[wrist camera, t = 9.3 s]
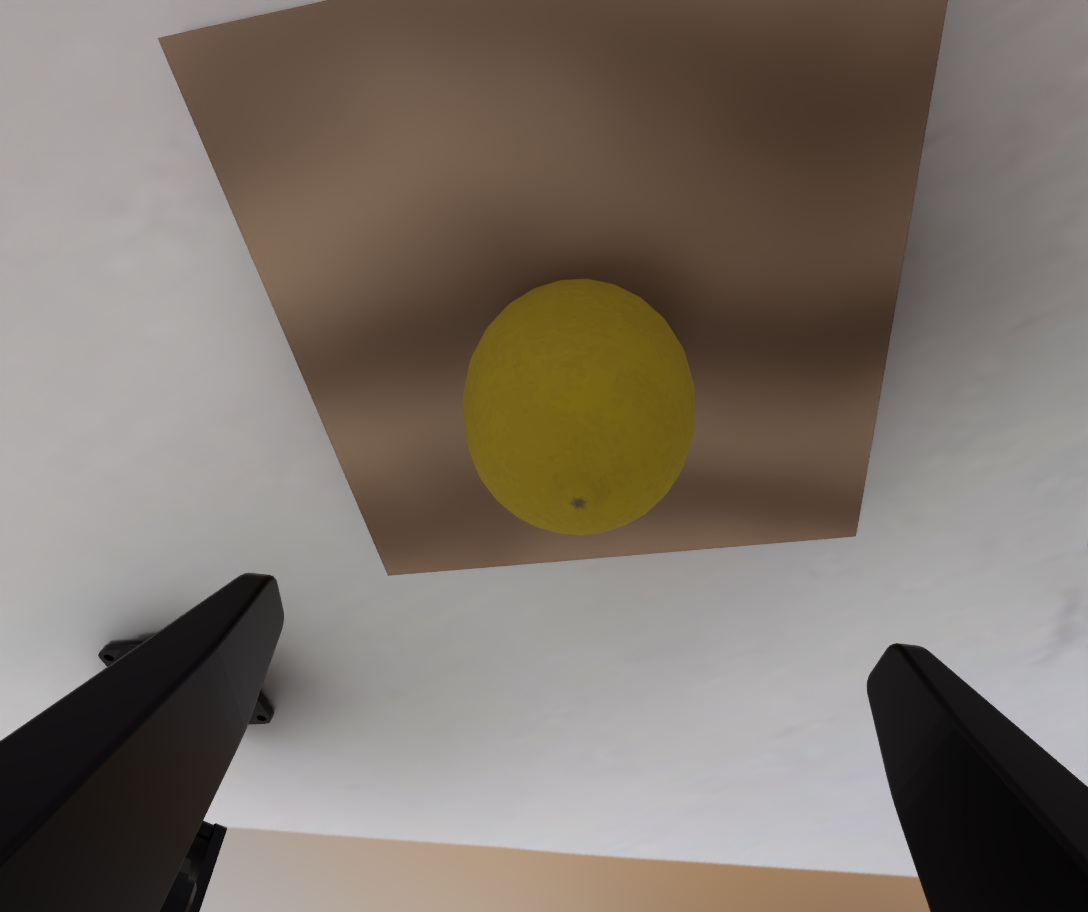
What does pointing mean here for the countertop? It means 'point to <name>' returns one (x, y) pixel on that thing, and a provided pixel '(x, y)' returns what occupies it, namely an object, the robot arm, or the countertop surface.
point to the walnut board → (578, 233)
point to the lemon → (579, 407)
